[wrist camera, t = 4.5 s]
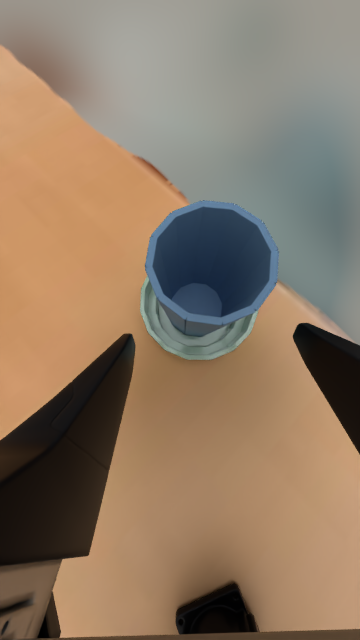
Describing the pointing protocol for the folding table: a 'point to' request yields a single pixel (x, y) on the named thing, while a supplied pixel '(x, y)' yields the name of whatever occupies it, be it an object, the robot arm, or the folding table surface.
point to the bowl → (185, 344)
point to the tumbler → (211, 266)
